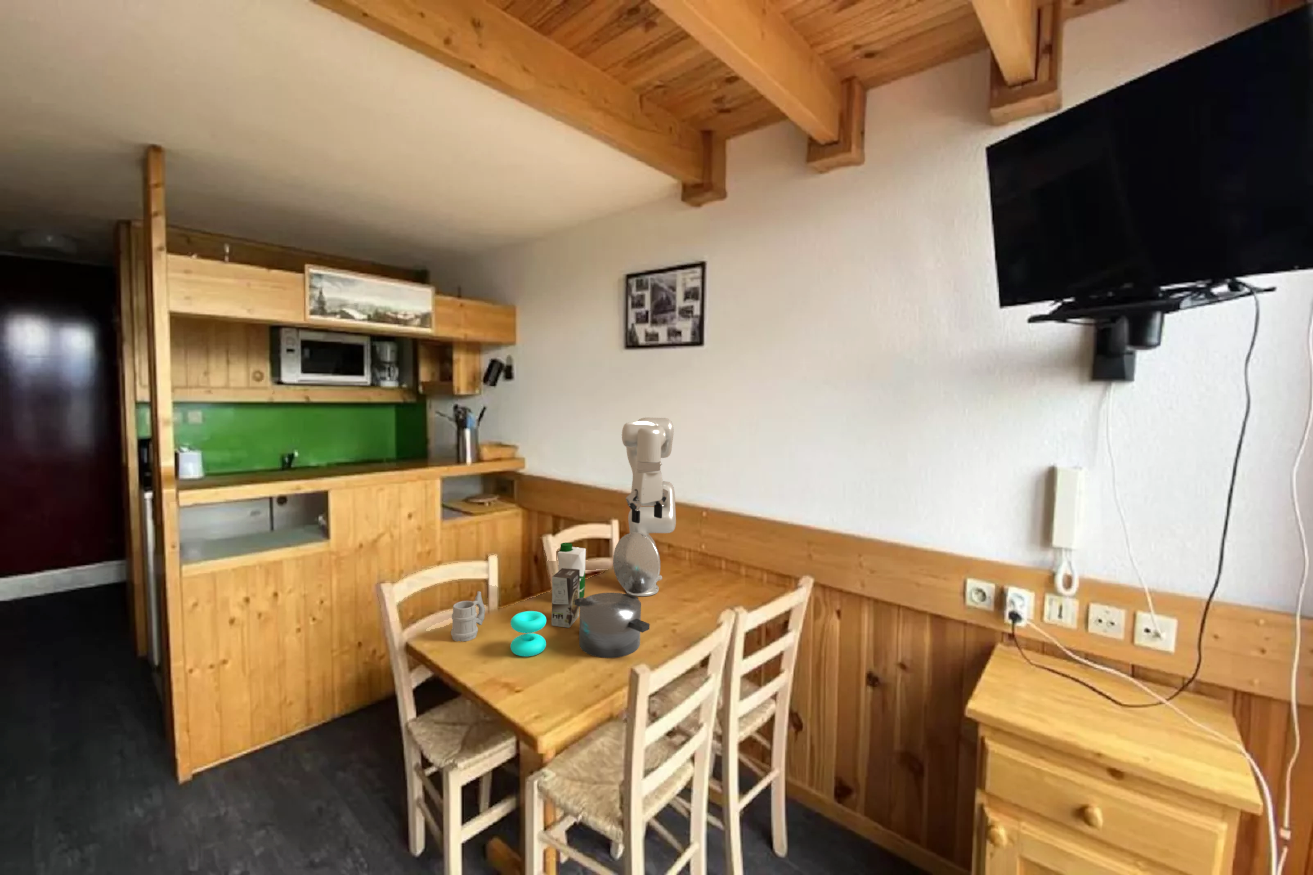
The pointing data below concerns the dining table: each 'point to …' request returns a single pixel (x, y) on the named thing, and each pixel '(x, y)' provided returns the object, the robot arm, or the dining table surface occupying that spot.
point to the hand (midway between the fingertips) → (647, 519)
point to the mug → (467, 619)
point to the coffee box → (565, 597)
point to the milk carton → (573, 562)
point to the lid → (636, 562)
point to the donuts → (528, 633)
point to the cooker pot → (610, 624)
